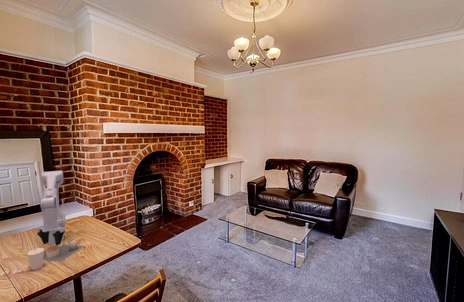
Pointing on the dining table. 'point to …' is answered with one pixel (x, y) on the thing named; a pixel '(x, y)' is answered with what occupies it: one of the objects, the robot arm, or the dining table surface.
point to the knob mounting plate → (64, 252)
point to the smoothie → (36, 257)
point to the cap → (52, 251)
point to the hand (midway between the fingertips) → (52, 243)
